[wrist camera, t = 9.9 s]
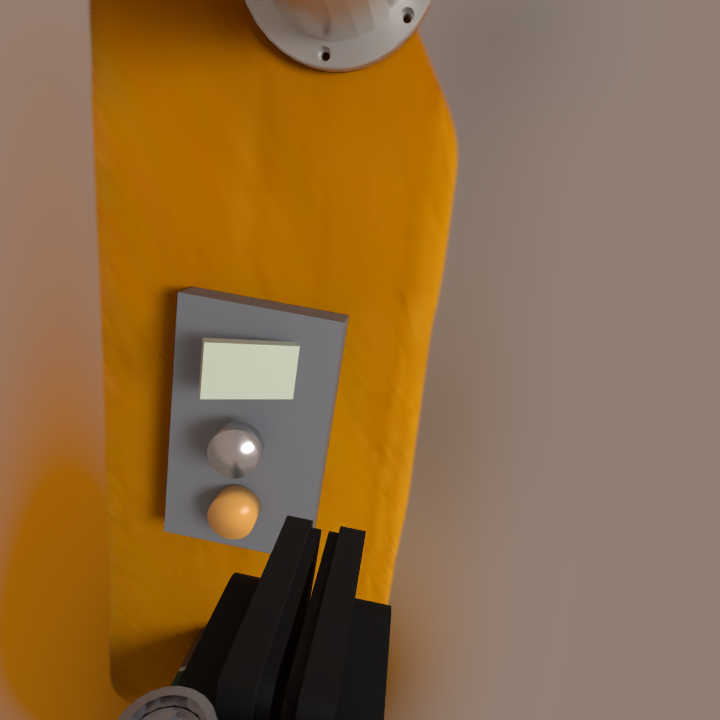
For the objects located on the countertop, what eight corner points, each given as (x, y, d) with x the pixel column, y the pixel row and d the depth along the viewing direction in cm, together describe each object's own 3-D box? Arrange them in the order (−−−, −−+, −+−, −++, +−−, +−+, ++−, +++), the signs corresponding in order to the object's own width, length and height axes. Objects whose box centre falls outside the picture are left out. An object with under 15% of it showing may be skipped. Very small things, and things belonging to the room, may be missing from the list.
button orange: (217, 481, 41) (209, 493, 39) (262, 490, 41) (256, 503, 39) (214, 520, 42) (205, 534, 41) (258, 529, 42) (251, 543, 40)
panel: (192, 286, 40) (171, 294, 36) (348, 315, 39) (342, 325, 36) (177, 513, 46) (158, 538, 42) (313, 542, 45) (304, 569, 42)
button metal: (218, 417, 38) (208, 427, 37) (267, 426, 38) (259, 437, 36) (214, 461, 39) (205, 473, 38) (261, 470, 39) (254, 483, 37)
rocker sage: (202, 337, 35) (204, 342, 34) (296, 341, 38) (299, 346, 37) (198, 393, 36) (199, 399, 35) (289, 393, 39) (292, 399, 38)
